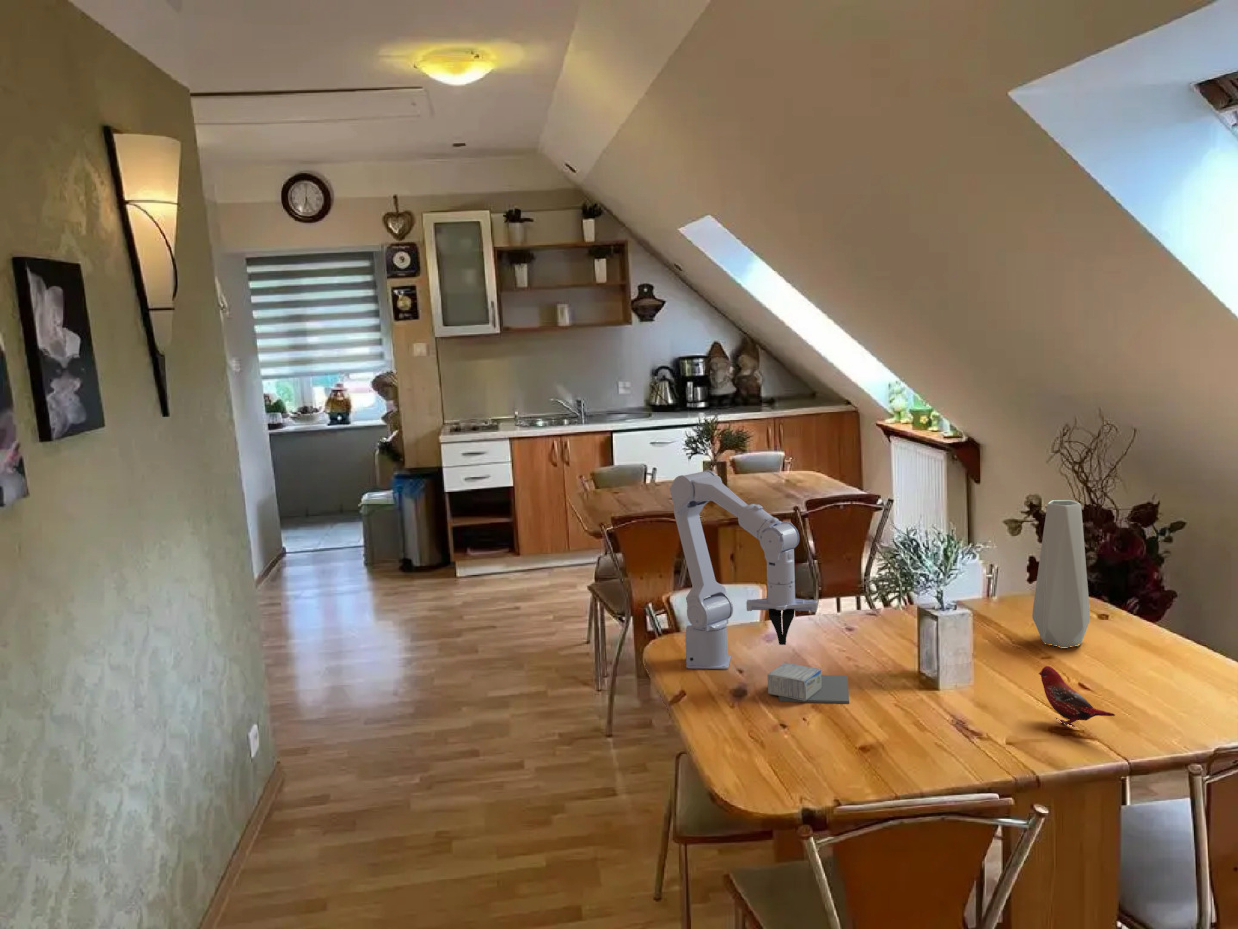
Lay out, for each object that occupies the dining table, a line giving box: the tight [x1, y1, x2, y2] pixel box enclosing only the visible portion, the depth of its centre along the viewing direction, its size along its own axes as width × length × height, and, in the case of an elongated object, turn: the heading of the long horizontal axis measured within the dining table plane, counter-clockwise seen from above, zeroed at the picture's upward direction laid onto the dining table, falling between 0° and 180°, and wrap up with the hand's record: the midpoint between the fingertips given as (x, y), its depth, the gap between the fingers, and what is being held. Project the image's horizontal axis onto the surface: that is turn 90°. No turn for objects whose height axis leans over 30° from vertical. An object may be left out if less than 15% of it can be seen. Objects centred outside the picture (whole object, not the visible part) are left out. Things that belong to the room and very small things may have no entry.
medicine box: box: [767, 662, 822, 701], centre depth 200 cm, size 8×4×9 cm
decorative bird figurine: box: [1038, 665, 1116, 728], centre depth 176 cm, size 3×18×10 cm, turn 20°
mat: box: [778, 674, 850, 704], centre depth 202 cm, size 14×14×1 cm
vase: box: [1031, 499, 1091, 647], centre depth 219 cm, size 12×12×33 cm
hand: (782, 643), depth 203 cm, fingers closed
